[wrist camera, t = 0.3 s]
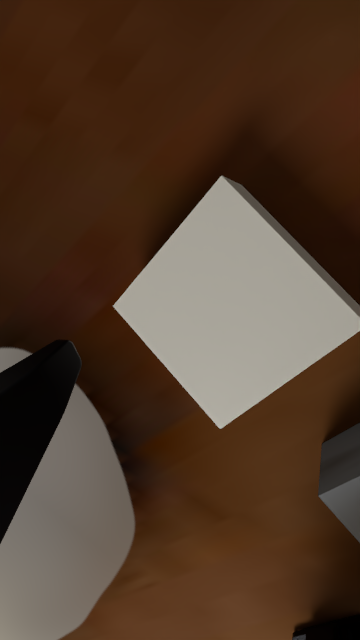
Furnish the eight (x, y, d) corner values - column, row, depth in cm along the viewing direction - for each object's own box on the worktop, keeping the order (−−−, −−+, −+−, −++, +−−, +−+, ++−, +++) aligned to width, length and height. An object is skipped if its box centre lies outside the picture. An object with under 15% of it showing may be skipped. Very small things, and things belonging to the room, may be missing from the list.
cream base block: (361, 307, 19) (367, 325, 16) (237, 399, 24) (220, 429, 20) (241, 184, 20) (221, 175, 17) (144, 295, 25) (113, 306, 21)
